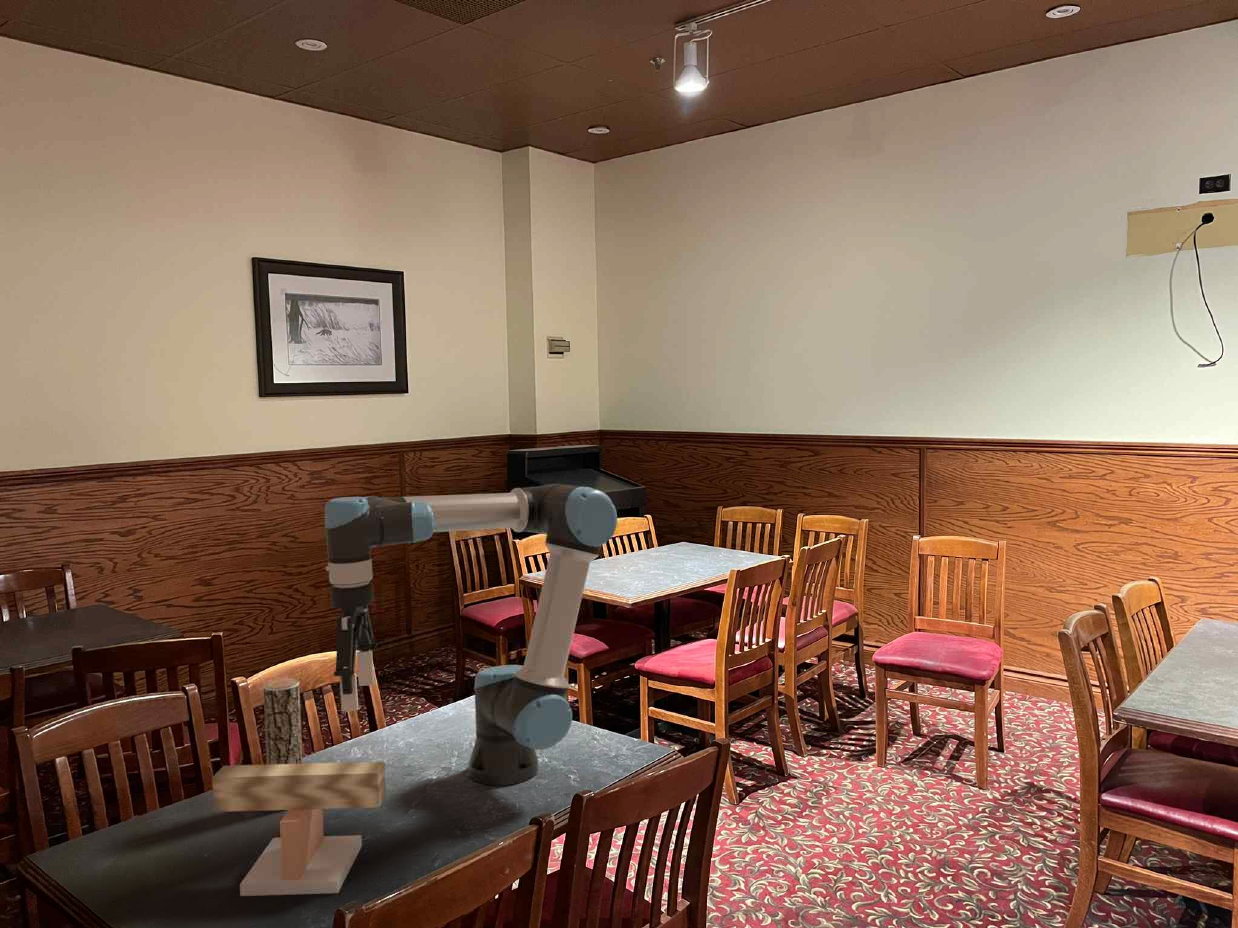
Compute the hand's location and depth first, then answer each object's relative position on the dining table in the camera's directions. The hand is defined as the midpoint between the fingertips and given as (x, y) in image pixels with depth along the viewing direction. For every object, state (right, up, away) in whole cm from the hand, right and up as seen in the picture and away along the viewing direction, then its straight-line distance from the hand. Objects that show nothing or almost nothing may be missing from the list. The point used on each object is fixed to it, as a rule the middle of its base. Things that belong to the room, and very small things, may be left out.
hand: (358, 697), depth 166 cm
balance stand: (-7, -28, -7) cm, 30 cm away
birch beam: (-8, -16, -8) cm, 20 cm away
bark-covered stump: (-20, -27, +19) cm, 38 cm away
